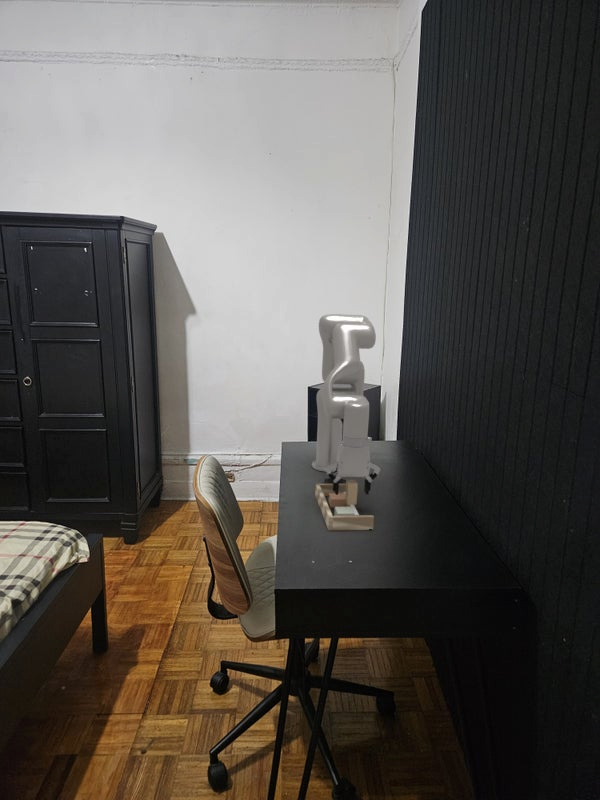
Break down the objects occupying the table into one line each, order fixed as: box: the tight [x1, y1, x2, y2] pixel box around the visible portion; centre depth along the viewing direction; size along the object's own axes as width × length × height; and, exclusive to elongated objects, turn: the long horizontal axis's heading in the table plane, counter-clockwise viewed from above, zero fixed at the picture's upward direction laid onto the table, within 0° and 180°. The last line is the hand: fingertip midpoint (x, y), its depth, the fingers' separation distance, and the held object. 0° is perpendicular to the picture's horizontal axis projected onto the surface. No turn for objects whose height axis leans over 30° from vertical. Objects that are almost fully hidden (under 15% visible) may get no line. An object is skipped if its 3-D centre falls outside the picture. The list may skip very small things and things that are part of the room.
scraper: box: [343, 479, 360, 515], centre depth 168 cm, size 18×3×10 cm, turn 7°
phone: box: [323, 477, 347, 497], centre depth 187 cm, size 8×1×15 cm
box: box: [314, 483, 375, 531], centre depth 168 cm, size 26×13×4 cm, turn 7°
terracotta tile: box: [327, 493, 346, 509], centre depth 173 cm, size 5×5×3 cm
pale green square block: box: [333, 507, 354, 516], centre depth 163 cm, size 5×5×3 cm
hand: (351, 492), depth 168 cm, fingers open, 9 cm apart
